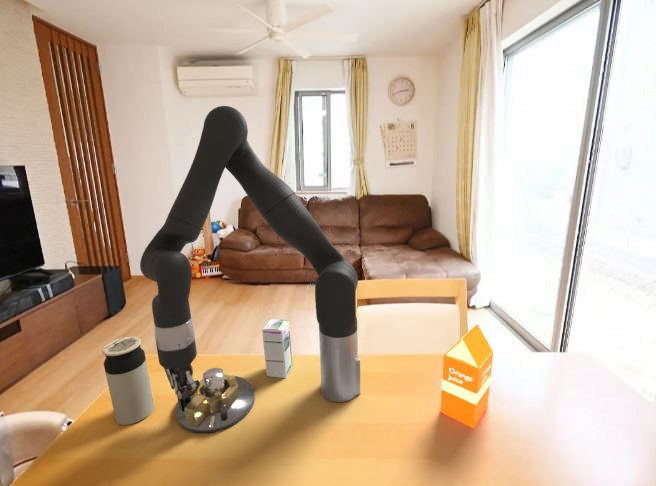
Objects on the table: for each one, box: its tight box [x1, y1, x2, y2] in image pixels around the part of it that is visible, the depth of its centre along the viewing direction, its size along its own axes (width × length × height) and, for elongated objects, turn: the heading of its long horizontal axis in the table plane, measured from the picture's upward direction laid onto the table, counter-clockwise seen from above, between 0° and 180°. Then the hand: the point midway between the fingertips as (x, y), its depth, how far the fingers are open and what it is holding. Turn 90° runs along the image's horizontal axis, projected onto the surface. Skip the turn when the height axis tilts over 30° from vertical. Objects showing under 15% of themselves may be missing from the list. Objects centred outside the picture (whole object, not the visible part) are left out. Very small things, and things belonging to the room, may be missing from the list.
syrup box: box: [261, 318, 293, 379], centre depth 91 cm, size 6×6×14 cm
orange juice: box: [440, 323, 494, 429], centre depth 75 cm, size 8×9×20 cm
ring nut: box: [184, 373, 239, 427], centre depth 78 cm, size 14×10×4 cm
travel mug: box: [101, 336, 155, 426], centre depth 77 cm, size 8×8×18 cm
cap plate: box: [175, 367, 256, 435], centre depth 80 cm, size 18×18×8 cm
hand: (185, 408), depth 75 cm, fingers closed
